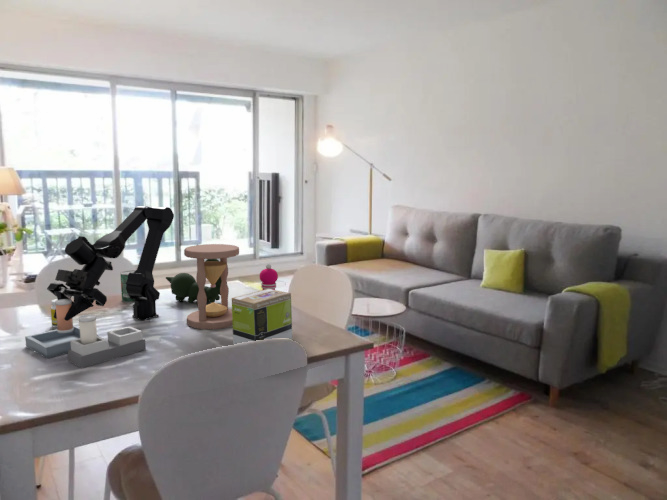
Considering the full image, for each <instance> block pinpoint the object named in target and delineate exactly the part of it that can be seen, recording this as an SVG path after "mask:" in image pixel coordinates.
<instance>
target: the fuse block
mask: <svg viewBox="0 0 667 500" xmlns="http://www.w3.org/2000/svg"><path fill="white" fill-rule="evenodd" d="M106 333H107V339H106V338H103V337H101V336H99V335H98V336H97V342H94V343H90V344H86V345H83V344H81V342H80V339H76V340H72V341H70V342H71V350H68V353H67V355H68V356H67V357H68V362H69V363H72V364H73V365H74V366H76V367H78V368H80V369H84V368H86V367H91V366H94V365H97V364H100V363H104V362H107V361H111V360H114V359H117V358H121V357H125V356H127V355H132V354H134V353H135V354H136V353H138V352H141V351H144V350H146V347H147V346H146V345H147V344H146V339H145V338H143V330H139V328H138V329H137V328H135V327H132V326H126V327H122V328H117V329H113V330H110V331H109V330H108V331H107V332H106Z"/></svg>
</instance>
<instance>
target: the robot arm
mask: <svg viewBox="0 0 667 500" xmlns="http://www.w3.org/2000/svg"><path fill="white" fill-rule="evenodd" d="M174 218H175V214H174V212H173V210H172V209H171V208H170V207H168V206H151V207H150V206H148V205H147V206H146V205H137V206H136V207H134V209H133V211H132V212H131V213H130V214H129V215H128V216H126V218H125V219H124V220H123V221H122V222H121V223H120V224H119V225H117V227H116V228H115V229H114V230H113V231H111V232H109V233H107V234H105V235H102V236H101V237H100V238H99V239H97V240H96V241H95V242H94V243H91V242H89V240H88V239H87V238H86V236H82V235H79V236H78V237H77V238H76V239H73V240H72V241H70V242H69V243H67V245H66V246H65V248H64V253H65V254H66V255H67V256H69V258H71V259H72V260H73V261H74V262H75V263H77V264H78V265H79V266H82V268H81V269H78V268H75V269H73V270H66V269H58V270H57V272H56V276H55V279H54V280H55V281H60V282H51V283H50V284H49V285H48V287H47V288H46V290H48V292H50V293H52V294H53V295H54V296H55V297H56V299H58V300H60V299H71V300H72V298H73V300H72V303H71V304H72V305H71V307H70V309H69V311H68V312H67V314H66V316H65V318H64V319H65V320H66V321H68V320H70V319H71V318H72V319H73V318H74V317H76V316H78V315H79V314H81V313H82V312H84V311H86V310H88V309H90V308H94V306H95V305H96V306H101V307H104V306H105V304H106V303H107V301H108V298H107V295H105V294H104V293H103V292H102V291H101V290H99V288H96V287H95V286H97V287H98V286H100V285H101V282H100V281H99V280H100V279H101V277H102V276H103V274H104V272H105V271H113V270H114V267H113V265H112V261H109V260H107V259H117V258H119V257H120V256H121V254H122V252H123V251H124V250H125V247H126V243H127V241H128V240H129V238H131V236H133V234H134V233H135V232H136V231H137V230H138V229H140V227H141V226H142V225H143V224H144V223H145V222H146V224H147V228H148V231H147V235H146V238H145V242H144V245H143V248H142V252H141V254H140V259H139V262H138V264H137V268H136V269H135V270H136V271H135V272H134V273H131V272H130V273H129V274H128V279H127V281H126V283H125V284H127V285H126V290H127V293H128V294H129V297H130V299H134V302H133V305H132V313H133V314H132V316H131V317H132V318H135V319H137V320H140V321H145V320H148V319H153V318H156V317H159V314H158V313H157V309H156V306H157V305H156V304H157V303H156V301H157V300H159V299H160V295H161V293H160V292H159V291H158V289H156V288H155V279H154V274H153V271H154V268H155V264H156V262H157V261H156V260H157V257H158V253H159V250H160V248H161V244H162V239H163V237H164V234H165V232H166V231H168V229H169V228H170V227H171V225H172V223H173V221H174ZM105 258H106V259H105ZM61 282H63V283H64V284H63V283H61ZM94 303H95V305H94ZM54 318H55V319H57V317H56V309H55V313H54Z"/></svg>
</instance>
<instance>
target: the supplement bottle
mask: <svg viewBox="0 0 667 500" xmlns="http://www.w3.org/2000/svg"><path fill="white" fill-rule="evenodd" d="M56 300H58V298H56V299H52V300H51V307H50V316H51V318H50V319H51V326H52V327H53V328H57V319H55V318H54V313H55V309H56V305H55V301H56Z"/></svg>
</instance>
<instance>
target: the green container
mask: <svg viewBox="0 0 667 500" xmlns="http://www.w3.org/2000/svg"><path fill="white" fill-rule="evenodd" d="M136 270H137V269H135V270H125V271H121V272H120V289H121V302H123V303H125V304H127V303H128V304H131V303H132V304H134V299H130V297H129V294H128V293H127V290H126V285H127V284H125V283H126V281H127V279H128V274H129V273H130V272H131V273H134V272H135V271H136Z"/></svg>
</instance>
